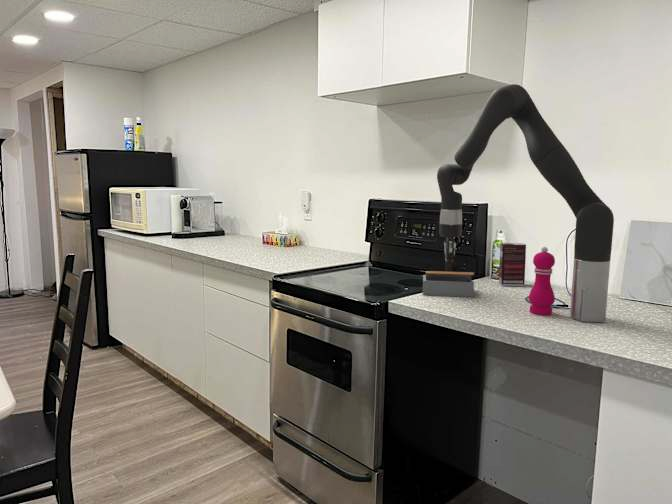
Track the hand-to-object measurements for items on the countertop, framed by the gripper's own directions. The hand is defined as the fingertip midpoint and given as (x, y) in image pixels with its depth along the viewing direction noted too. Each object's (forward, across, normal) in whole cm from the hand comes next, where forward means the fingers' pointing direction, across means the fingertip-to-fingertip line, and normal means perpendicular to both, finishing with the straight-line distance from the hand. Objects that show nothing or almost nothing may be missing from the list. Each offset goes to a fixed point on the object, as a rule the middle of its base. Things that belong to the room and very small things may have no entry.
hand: (448, 271), depth 177 cm
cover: (+1, -1, 0) cm, 2 cm away
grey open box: (+8, 0, 0) cm, 8 cm away
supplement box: (+8, -17, +24) cm, 31 cm away
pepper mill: (+8, +23, +26) cm, 36 cm away
